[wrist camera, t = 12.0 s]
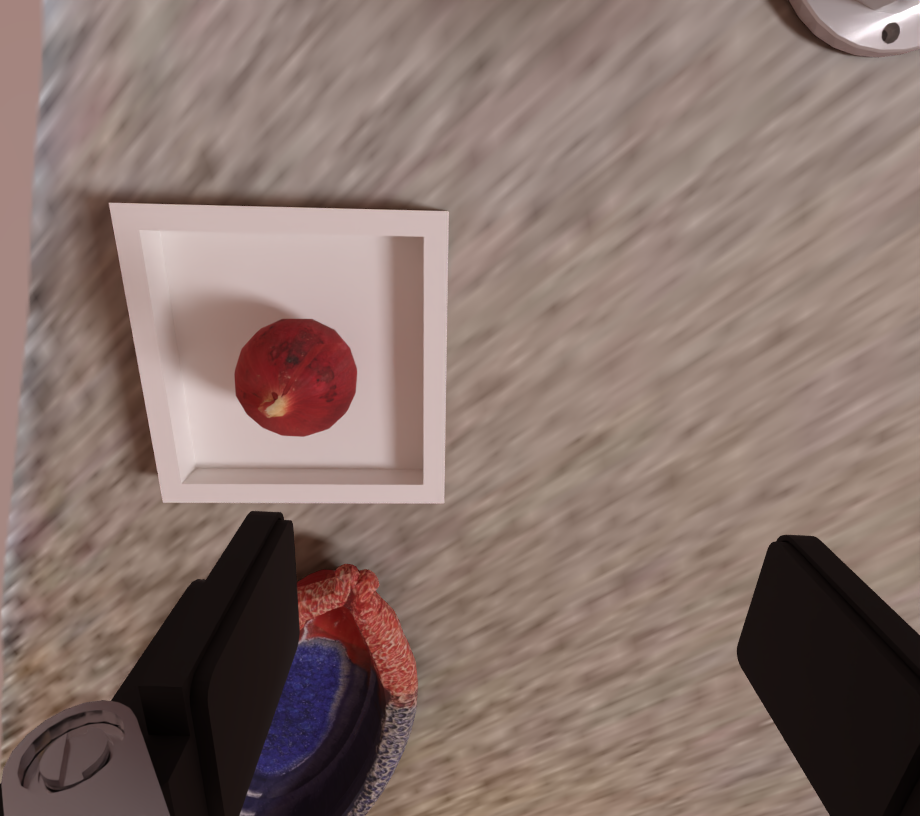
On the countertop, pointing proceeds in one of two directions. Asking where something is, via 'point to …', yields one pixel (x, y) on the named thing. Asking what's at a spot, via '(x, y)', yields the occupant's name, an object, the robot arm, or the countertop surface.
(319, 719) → the dish
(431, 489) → the tray
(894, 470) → the countertop surface
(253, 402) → the onion
